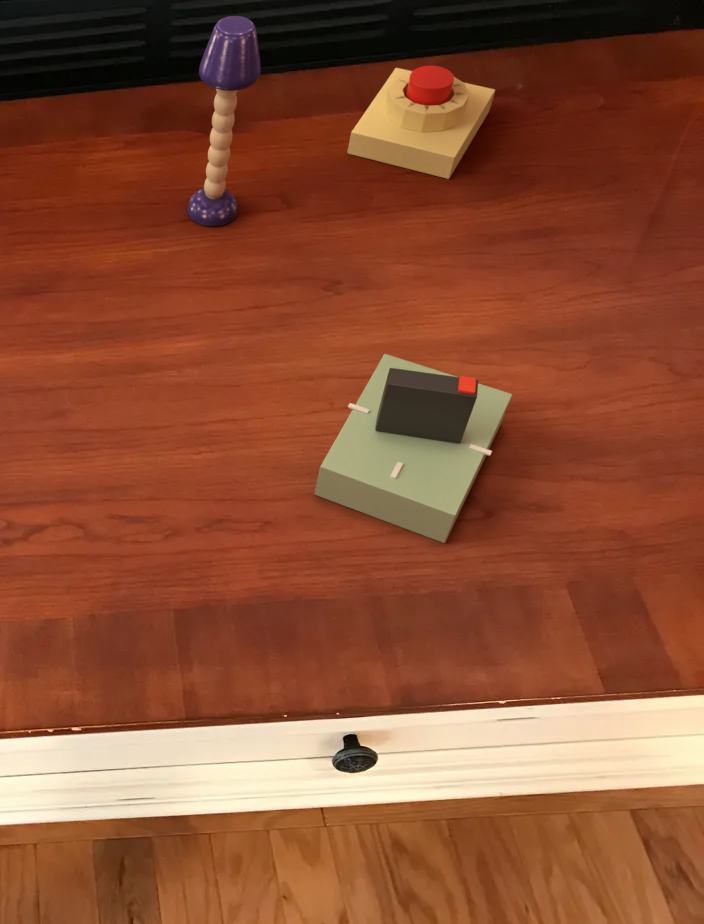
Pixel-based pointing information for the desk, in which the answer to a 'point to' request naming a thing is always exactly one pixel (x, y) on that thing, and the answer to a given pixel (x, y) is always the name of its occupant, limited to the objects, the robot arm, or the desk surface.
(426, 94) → the button
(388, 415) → the black rectangular block
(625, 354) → the desk surface
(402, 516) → the panel
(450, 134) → the button block
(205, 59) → the toy lamp
